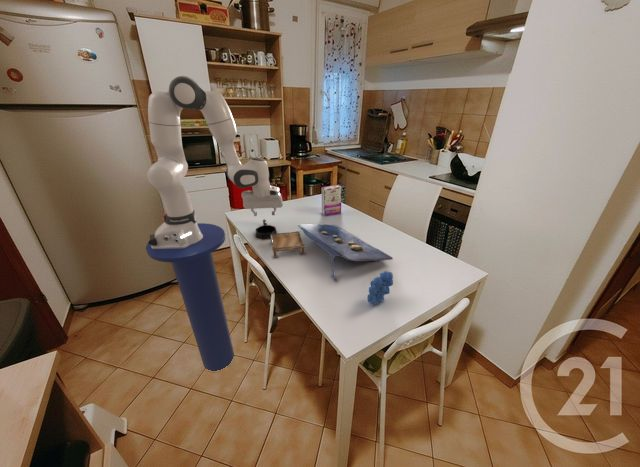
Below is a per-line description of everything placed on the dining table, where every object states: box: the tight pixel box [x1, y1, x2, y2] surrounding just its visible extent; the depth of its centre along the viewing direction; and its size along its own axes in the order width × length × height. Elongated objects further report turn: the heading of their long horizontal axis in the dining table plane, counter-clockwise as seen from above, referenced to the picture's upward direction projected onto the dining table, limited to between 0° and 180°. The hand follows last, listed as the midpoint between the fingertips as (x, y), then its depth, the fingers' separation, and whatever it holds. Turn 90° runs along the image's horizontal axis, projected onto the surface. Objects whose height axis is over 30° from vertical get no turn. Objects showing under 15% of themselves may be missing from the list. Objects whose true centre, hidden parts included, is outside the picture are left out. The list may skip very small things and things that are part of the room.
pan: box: [255, 218, 278, 241], centre depth 137 cm, size 10×19×3 cm, turn 14°
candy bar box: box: [321, 184, 343, 217], centre depth 155 cm, size 11×5×16 cm, turn 113°
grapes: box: [366, 270, 394, 306], centre depth 89 cm, size 12×7×12 cm, turn 129°
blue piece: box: [297, 223, 394, 281], centre depth 121 cm, size 45×27×12 cm, turn 32°
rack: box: [270, 230, 306, 259], centre depth 121 cm, size 14×14×5 cm
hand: (264, 215), depth 140 cm, fingers open, 8 cm apart
